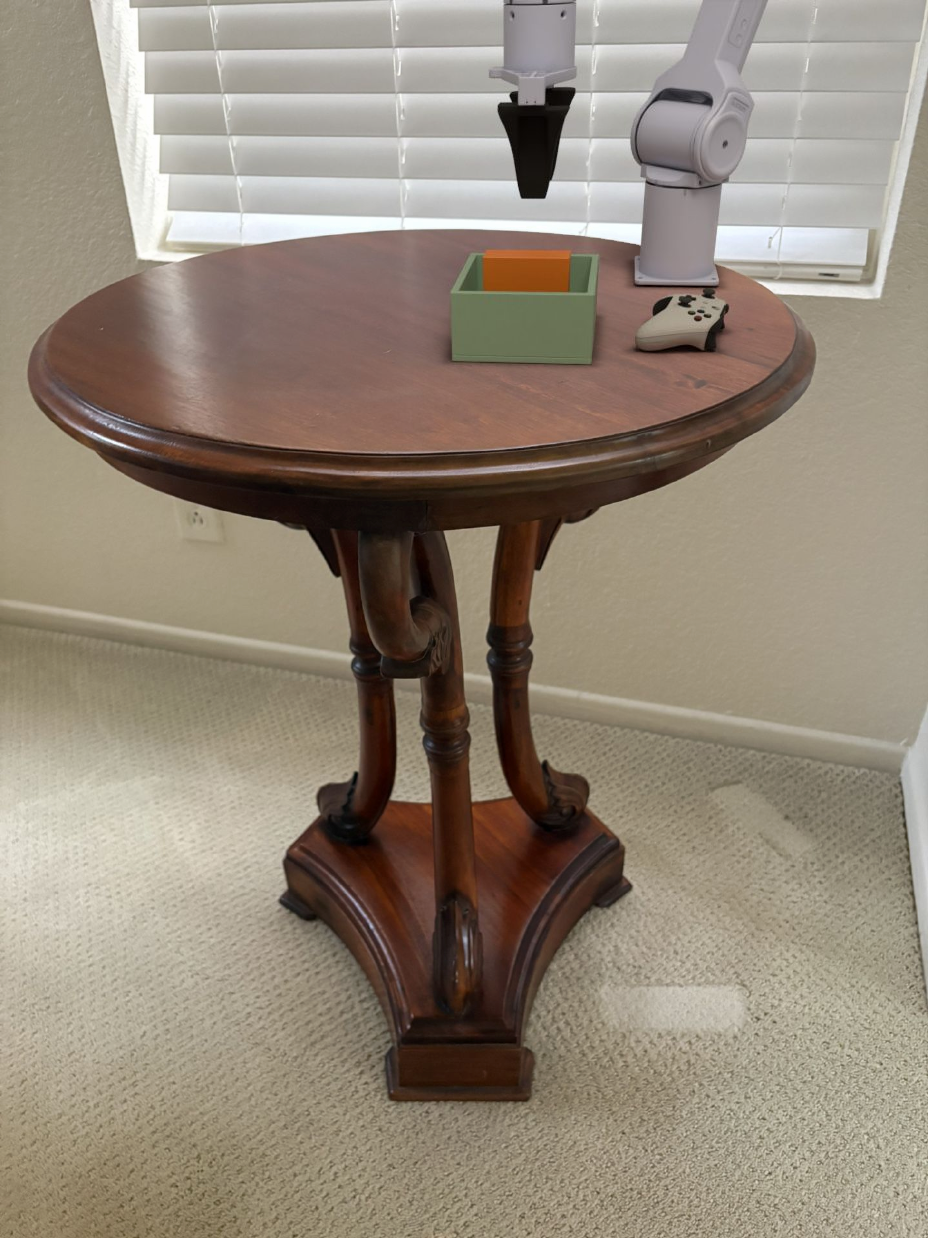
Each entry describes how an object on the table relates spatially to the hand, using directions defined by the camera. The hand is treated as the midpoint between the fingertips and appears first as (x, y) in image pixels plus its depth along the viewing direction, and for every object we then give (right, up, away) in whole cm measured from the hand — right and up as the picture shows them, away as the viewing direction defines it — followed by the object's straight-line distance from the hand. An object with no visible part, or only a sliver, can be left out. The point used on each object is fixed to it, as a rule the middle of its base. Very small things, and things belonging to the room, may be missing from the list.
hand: (537, 188), depth 86 cm
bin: (-1, -13, -1) cm, 13 cm away
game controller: (+12, -13, -2) cm, 18 cm away
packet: (-1, -13, -1) cm, 13 cm away
